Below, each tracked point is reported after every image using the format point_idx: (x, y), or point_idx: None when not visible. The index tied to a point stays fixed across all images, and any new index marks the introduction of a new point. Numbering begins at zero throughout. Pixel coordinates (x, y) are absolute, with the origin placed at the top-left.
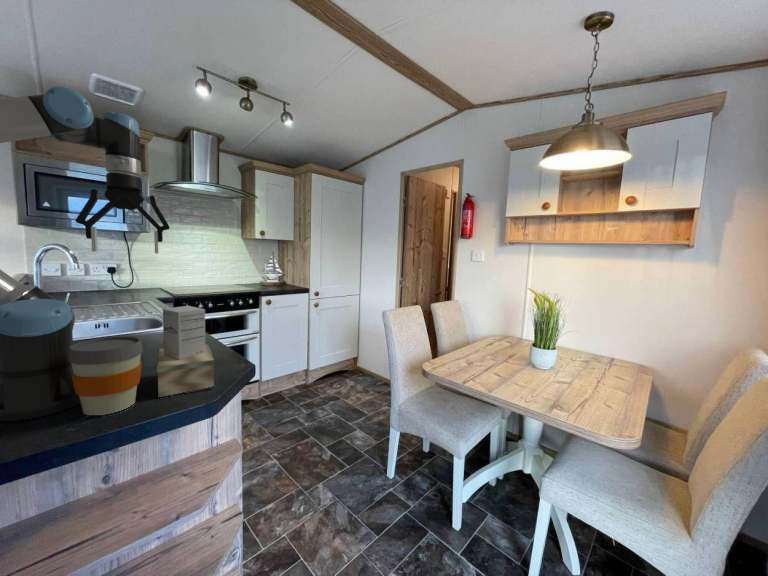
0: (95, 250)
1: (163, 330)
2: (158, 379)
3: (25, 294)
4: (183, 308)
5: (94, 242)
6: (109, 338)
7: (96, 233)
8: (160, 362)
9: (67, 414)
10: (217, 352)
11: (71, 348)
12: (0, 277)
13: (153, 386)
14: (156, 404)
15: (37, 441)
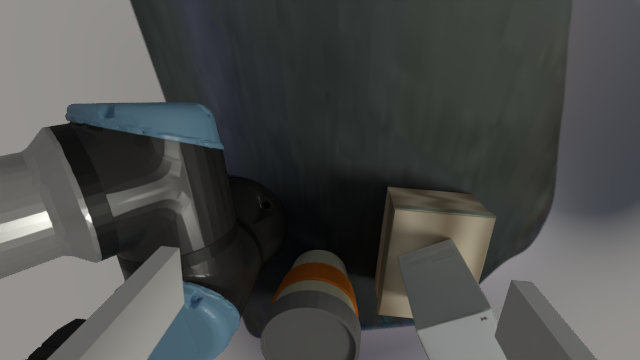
0: (179, 306)
1: (406, 292)
2: (377, 299)
3: (103, 256)
4: (463, 348)
5: (148, 347)
6: (309, 308)
7: (93, 357)
8: (386, 295)
9: (276, 268)
10: (537, 72)
11: (264, 354)
12: (3, 268)
13: (373, 228)
14: (370, 294)
15: (263, 317)
